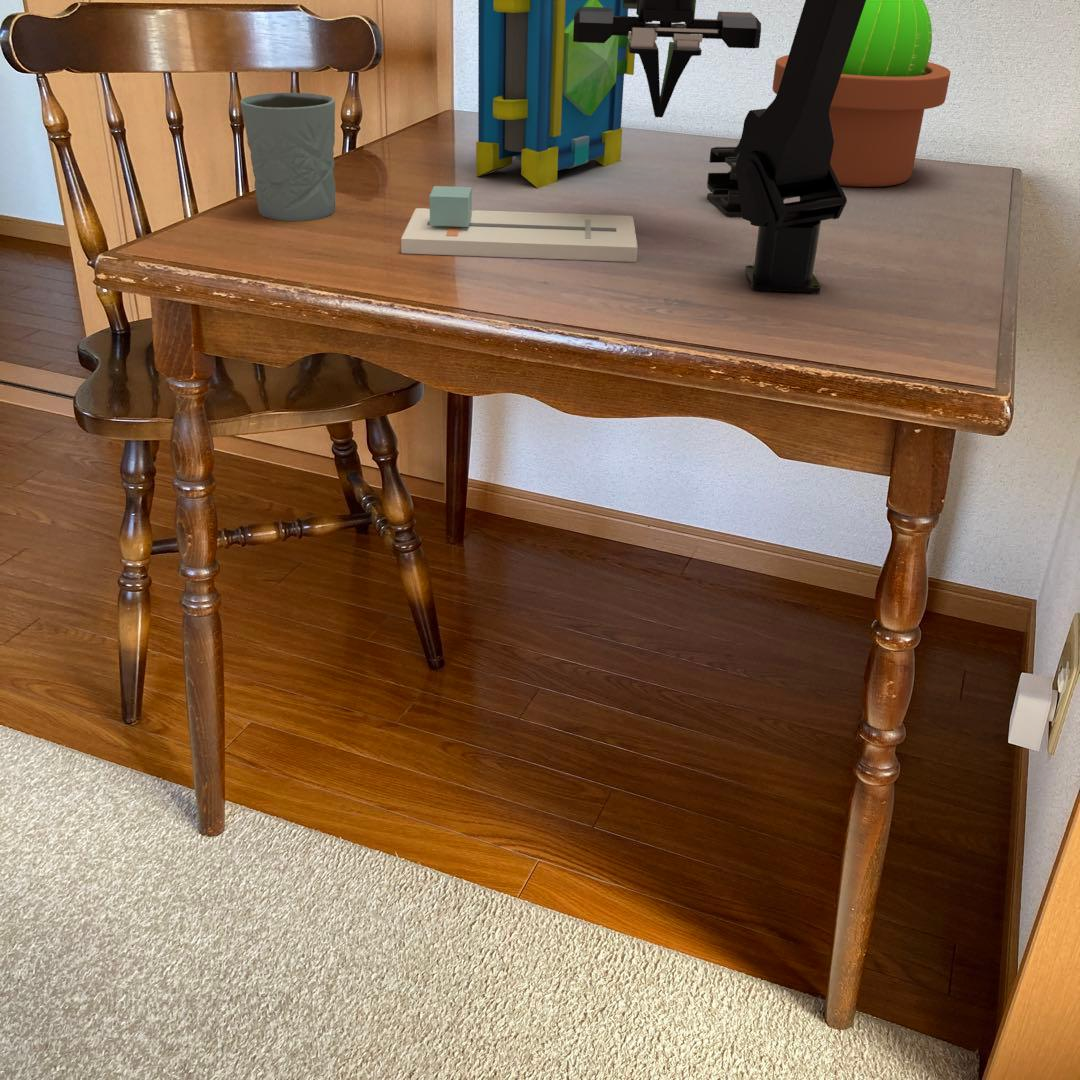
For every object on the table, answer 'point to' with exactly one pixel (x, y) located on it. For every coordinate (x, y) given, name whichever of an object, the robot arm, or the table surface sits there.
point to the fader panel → (525, 236)
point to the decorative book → (547, 88)
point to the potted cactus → (883, 94)
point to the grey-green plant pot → (292, 154)
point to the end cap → (724, 183)
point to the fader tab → (450, 206)
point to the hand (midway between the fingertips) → (658, 116)
